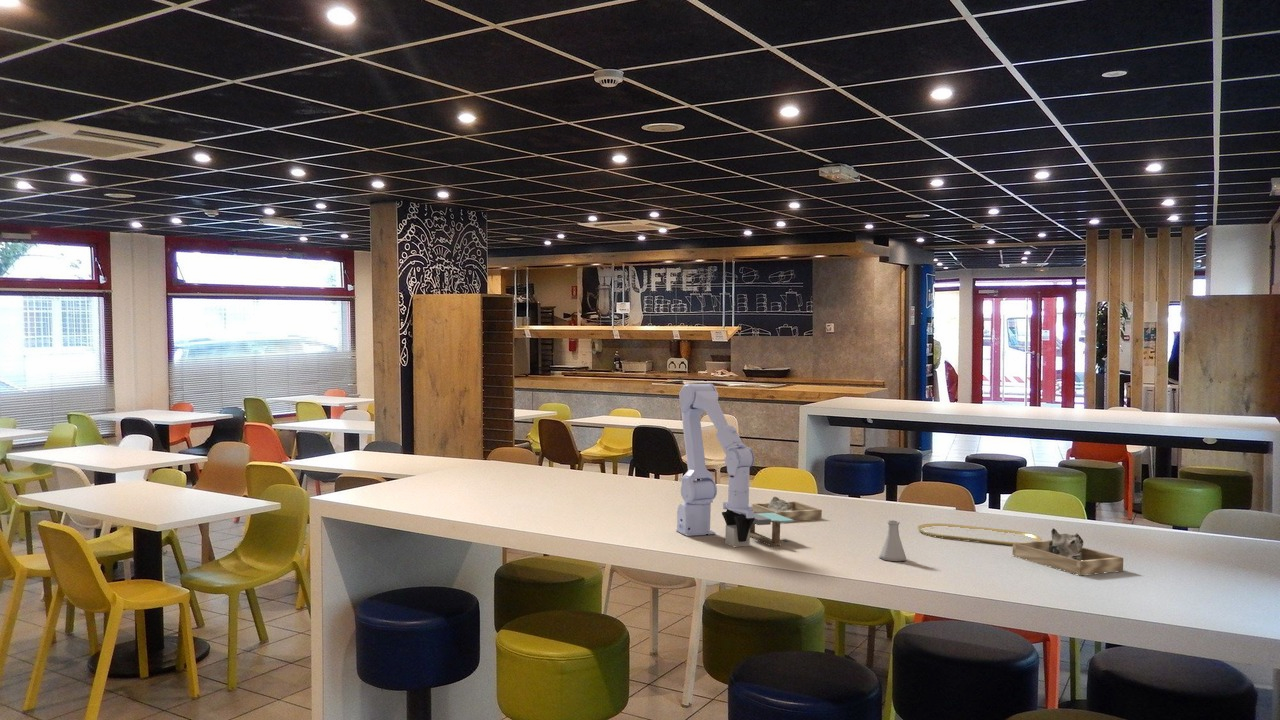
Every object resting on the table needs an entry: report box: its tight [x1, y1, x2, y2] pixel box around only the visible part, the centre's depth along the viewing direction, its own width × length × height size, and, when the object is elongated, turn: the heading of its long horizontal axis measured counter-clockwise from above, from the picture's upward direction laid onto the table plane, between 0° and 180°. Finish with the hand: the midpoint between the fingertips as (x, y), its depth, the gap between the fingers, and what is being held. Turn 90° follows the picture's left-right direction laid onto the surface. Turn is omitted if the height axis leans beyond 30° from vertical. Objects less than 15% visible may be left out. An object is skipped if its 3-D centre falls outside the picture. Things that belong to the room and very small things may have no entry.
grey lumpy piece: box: [1049, 528, 1084, 561], centre depth 235 cm, size 16×9×10 cm, turn 160°
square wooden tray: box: [750, 501, 823, 522], centre depth 293 cm, size 17×16×3 cm
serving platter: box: [917, 522, 1043, 546], centre depth 267 cm, size 19×35×2 cm, turn 65°
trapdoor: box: [753, 513, 795, 526], centre depth 256 cm, size 11×12×2 cm
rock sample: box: [767, 496, 793, 512], centre depth 292 cm, size 10×8×9 cm
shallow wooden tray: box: [1011, 539, 1124, 576], centre depth 235 cm, size 15×22×4 cm
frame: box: [750, 512, 782, 547], centre depth 255 cm, size 3×17×7 cm, turn 22°
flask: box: [878, 519, 907, 562], centre depth 236 cm, size 7×7×10 cm
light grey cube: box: [724, 525, 751, 547], centre depth 249 cm, size 5×5×5 cm
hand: (737, 539), depth 249 cm, fingers closed on light grey cube, 5 cm apart
